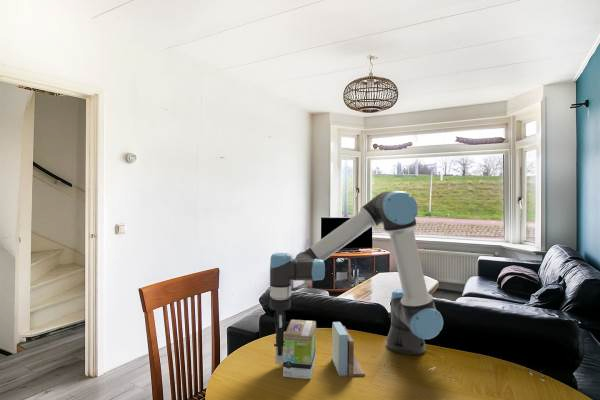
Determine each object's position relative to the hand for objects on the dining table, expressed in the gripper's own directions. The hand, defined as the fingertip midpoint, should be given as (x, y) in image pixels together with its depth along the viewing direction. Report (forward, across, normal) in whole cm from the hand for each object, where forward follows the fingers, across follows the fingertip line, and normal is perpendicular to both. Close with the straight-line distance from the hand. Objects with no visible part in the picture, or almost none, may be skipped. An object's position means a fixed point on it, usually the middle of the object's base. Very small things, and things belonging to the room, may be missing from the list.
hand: (279, 362), depth 122 cm
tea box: (+2, +1, +7) cm, 8 cm away
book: (+2, +1, +22) cm, 22 cm away
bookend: (+2, +1, +26) cm, 26 cm away
